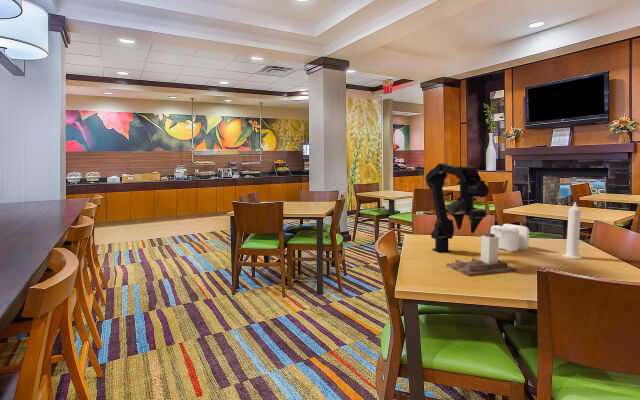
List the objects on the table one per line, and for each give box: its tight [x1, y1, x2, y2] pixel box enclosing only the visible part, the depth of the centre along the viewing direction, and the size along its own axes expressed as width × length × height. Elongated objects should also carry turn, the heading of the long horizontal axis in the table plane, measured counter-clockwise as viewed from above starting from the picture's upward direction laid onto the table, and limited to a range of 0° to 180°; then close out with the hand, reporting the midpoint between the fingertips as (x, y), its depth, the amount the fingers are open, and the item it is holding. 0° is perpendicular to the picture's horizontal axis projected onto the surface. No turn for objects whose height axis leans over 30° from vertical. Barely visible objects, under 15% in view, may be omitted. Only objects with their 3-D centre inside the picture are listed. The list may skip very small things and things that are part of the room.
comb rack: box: [446, 257, 518, 277], centre depth 147 cm, size 14×22×3 cm, turn 104°
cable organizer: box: [490, 223, 530, 253], centre depth 180 cm, size 15×11×12 cm
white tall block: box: [480, 232, 499, 264], centre depth 148 cm, size 4×4×13 cm
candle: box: [562, 201, 583, 260], centre depth 163 cm, size 7×7×25 cm
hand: (465, 231), depth 159 cm, fingers open, 9 cm apart
